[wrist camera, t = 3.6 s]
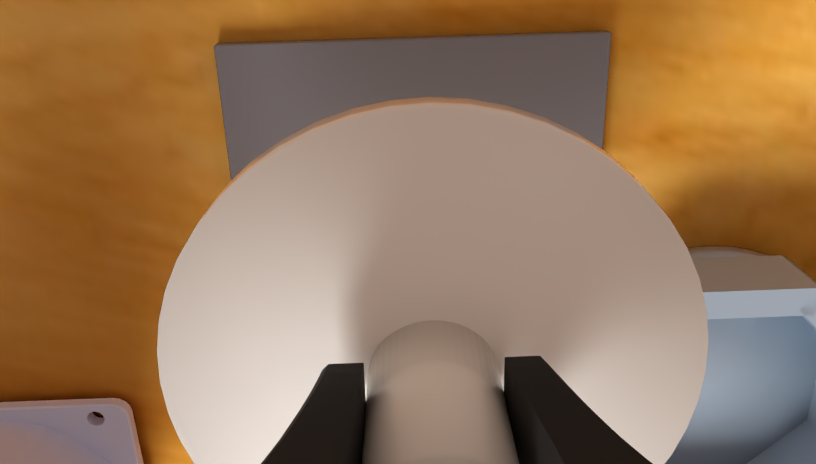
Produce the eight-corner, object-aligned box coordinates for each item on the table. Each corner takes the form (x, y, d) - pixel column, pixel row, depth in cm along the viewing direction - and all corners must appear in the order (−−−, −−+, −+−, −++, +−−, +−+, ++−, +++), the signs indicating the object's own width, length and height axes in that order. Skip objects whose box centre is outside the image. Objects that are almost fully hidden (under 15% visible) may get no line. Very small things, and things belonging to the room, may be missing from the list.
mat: (259, 373, 23) (257, 381, 22) (217, 43, 19) (213, 45, 18) (581, 361, 23) (584, 368, 22) (606, 31, 19) (611, 33, 18)
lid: (206, 550, 16) (143, 758, 12) (127, 103, 12) (-3, 194, 8) (659, 540, 16) (743, 743, 12) (730, 89, 12) (888, 174, 8)
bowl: (548, 483, 25) (567, 549, 22) (562, 250, 21) (587, 296, 19) (801, 473, 25) (850, 537, 22) (855, 240, 21) (920, 284, 19)
